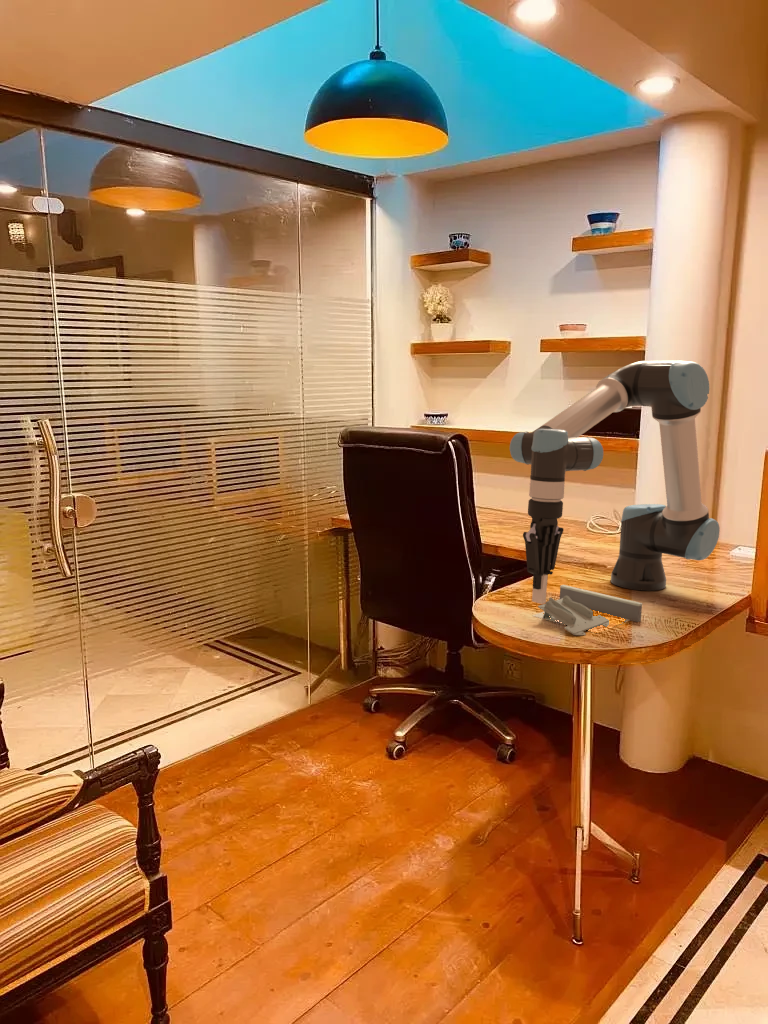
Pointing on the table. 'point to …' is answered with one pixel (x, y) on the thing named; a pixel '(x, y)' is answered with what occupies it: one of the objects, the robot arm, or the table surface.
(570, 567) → the table surface
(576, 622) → the metal bracket
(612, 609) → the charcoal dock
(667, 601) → the table surface
